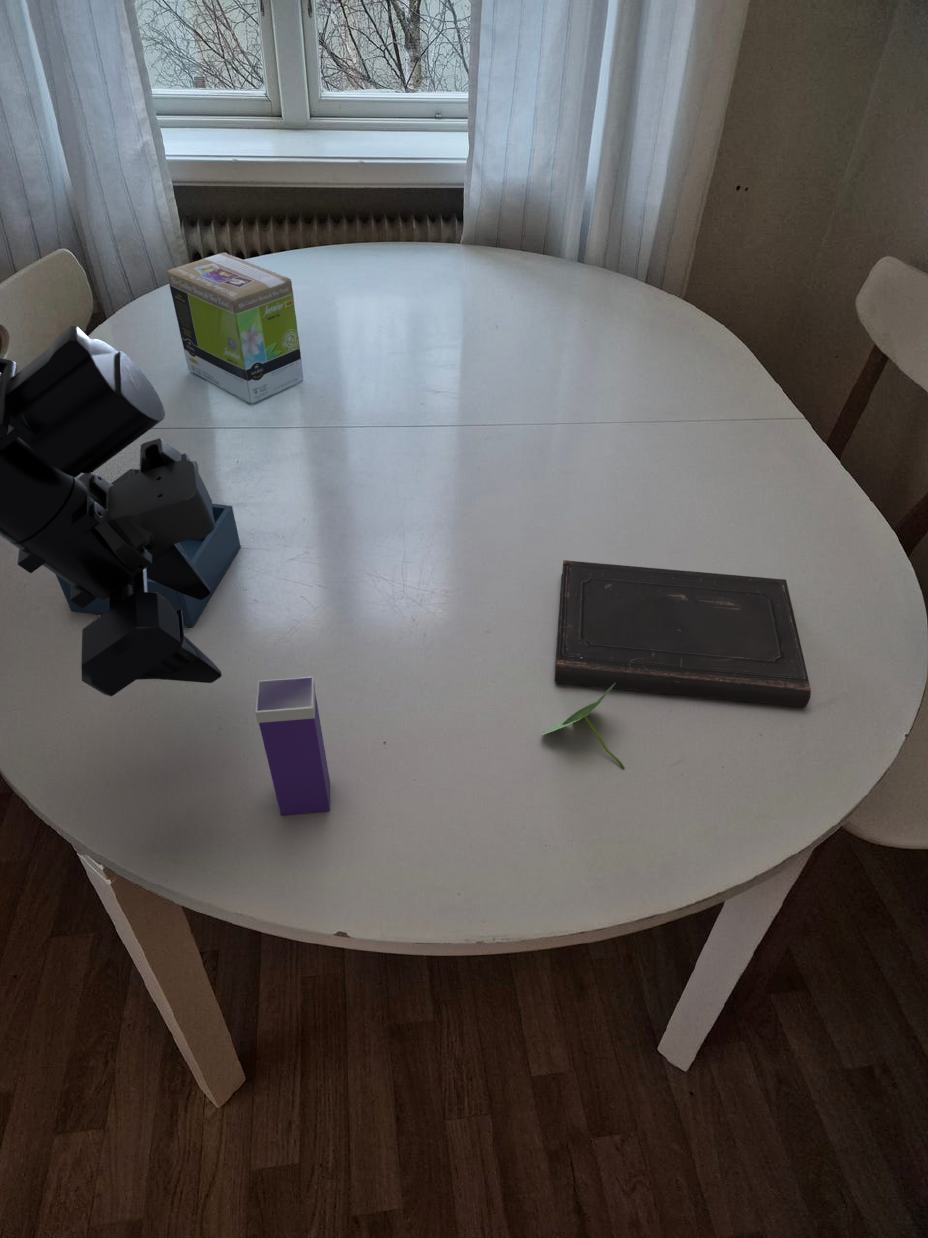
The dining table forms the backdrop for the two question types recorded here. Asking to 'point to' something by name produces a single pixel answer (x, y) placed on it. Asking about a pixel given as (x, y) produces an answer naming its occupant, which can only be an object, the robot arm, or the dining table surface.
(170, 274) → the tea box
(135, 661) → the robot arm
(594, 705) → the seedling
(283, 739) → the purple white-banded prism
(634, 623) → the hardcover book
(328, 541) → the dining table surface
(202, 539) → the open blue box
